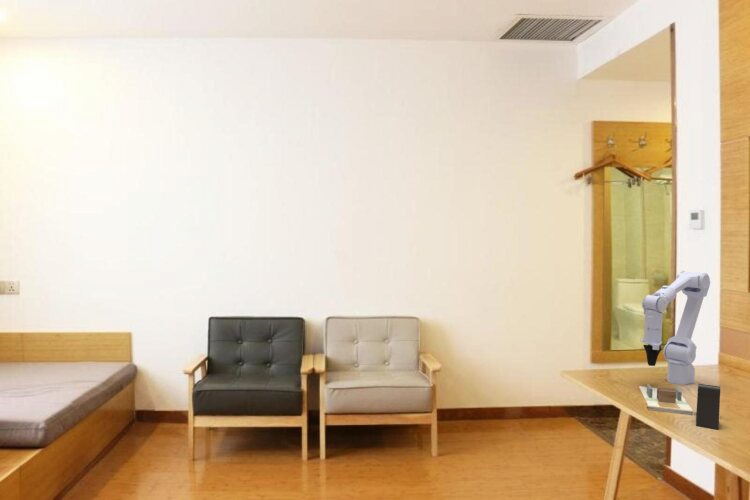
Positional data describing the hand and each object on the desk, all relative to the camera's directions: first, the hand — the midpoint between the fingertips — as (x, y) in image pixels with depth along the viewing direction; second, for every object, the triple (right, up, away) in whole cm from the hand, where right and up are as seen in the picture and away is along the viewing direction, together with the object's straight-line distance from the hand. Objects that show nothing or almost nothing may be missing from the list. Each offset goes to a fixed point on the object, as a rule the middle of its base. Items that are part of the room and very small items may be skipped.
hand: (651, 365), depth 211 cm
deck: (-1, -10, -11) cm, 15 cm away
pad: (-2, -11, -15) cm, 19 cm away
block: (-2, -9, -14) cm, 17 cm away
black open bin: (+2, -12, -32) cm, 34 cm away
